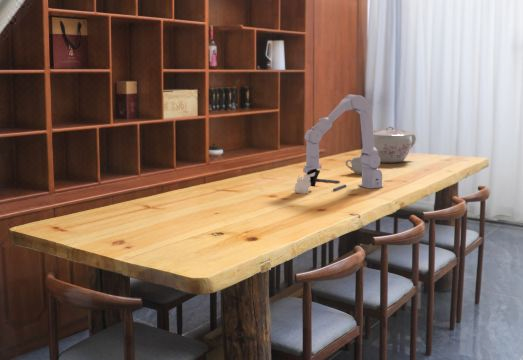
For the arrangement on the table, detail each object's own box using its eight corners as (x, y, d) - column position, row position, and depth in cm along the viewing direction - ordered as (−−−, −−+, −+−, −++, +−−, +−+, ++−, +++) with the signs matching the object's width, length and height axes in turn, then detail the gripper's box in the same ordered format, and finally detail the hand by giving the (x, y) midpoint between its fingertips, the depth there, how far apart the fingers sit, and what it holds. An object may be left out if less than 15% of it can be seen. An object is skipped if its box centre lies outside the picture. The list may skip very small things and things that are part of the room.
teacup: (371, 172, 349) (371, 157, 348) (372, 175, 339) (373, 160, 337) (345, 171, 351) (345, 157, 349) (345, 175, 340) (345, 159, 339)
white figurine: (307, 189, 302) (307, 168, 300) (320, 191, 297) (320, 170, 295) (290, 193, 293) (290, 172, 292) (303, 195, 288) (303, 174, 286)
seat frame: (353, 184, 314) (353, 182, 314) (335, 191, 297) (335, 189, 297) (315, 180, 325) (315, 178, 325) (295, 187, 307) (295, 185, 307)
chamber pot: (362, 163, 378) (362, 127, 374) (368, 157, 404) (369, 123, 400) (411, 165, 370) (413, 129, 366) (415, 159, 396) (416, 124, 392)
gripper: (311, 154, 305) (311, 182, 308) (297, 157, 293) (297, 187, 295) (325, 155, 302) (325, 184, 304) (311, 158, 289) (311, 189, 292)
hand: (312, 186), depth 299 cm, fingers closed
